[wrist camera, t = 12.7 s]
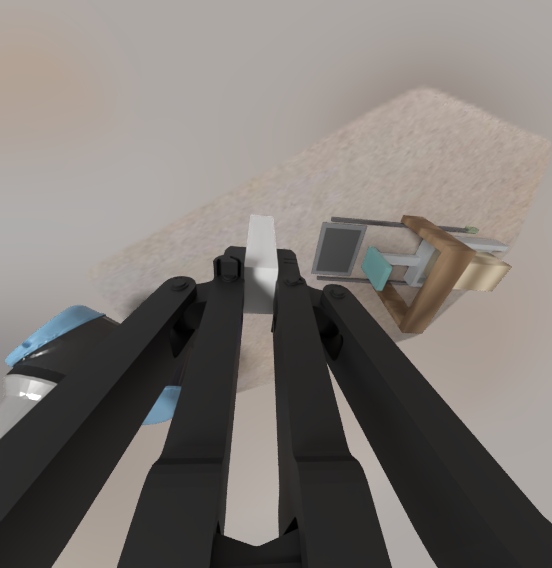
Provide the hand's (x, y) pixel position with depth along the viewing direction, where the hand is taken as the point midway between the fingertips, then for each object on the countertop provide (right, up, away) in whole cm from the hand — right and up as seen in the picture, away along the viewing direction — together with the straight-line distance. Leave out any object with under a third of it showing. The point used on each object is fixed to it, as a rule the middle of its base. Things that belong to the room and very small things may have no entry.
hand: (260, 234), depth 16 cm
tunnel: (+27, +3, +35) cm, 44 cm away
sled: (+33, +2, +35) cm, 48 cm away
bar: (+40, +1, +35) cm, 53 cm away
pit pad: (+14, +4, +33) cm, 36 cm away
